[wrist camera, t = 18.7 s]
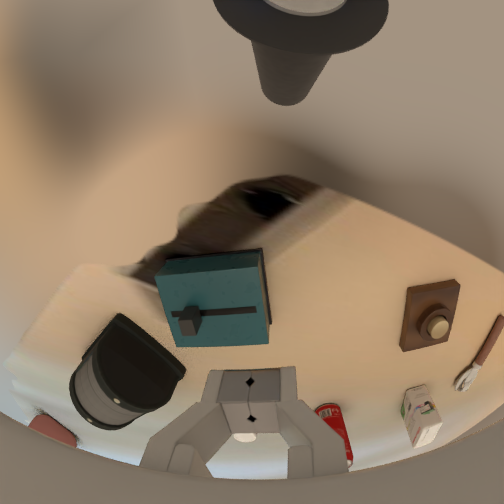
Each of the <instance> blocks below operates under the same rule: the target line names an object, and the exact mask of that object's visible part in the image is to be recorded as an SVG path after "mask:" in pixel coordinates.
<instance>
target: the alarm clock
mask: <svg viewBox="0 0 504 504" xmlns="http://www.w3.org/2000/svg"><path fill="white" fill-rule="evenodd" d="M28 427H30V428H32V429H34V430H36V431H38V432H40V433H42V434H44V435H47V436H49V437H51V438H53V439H56V440H58V441H61V442H63V443H66V444H68V445H71V446H73V447H77V443H76V439H75V437H74V436H73V434H72V433H71V432H70V431H69V430H67V429H66V428H65V427H63V426H62V425H61V424H59V423H58V422H57V421H55V420H54V419H53V418H51V417H49V416H48V415H43V414H41V415H37V416H36V417H35V418H34V419H33V420H32V421H31V423H30V424H29V426H28Z"/></svg>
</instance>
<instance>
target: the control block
mask: <svg viewBox="0 0 504 504" xmlns="http://www.w3.org/2000/svg"><path fill="white" fill-rule="evenodd" d="M459 290H460V284H459V283H458V282H457V281H456V280H449V281H444V282H438V283H433V284H427V285H421V286H416V287H409V288H408V290H407V298H406V306H405V314H404V320H403V327H402V333H401V338H400V344H399V346H400V347H401V349H402V351H403V352H406V351H411V350H415V349H419V348H424V347H428V346H432V345H435V344H439V343H443V342H447V341H448V338H449V334H450V330H451V327H452V323H453V318H454V314H455V310H456V305H457V300H458V295H459ZM436 316H443V317H444V318H445V320H446V321H447V322H448V324H449V327H448V330H447V332H446V333H445V335H443V336H442V337H441V338H438V339H434V338H432V336H431V335H430V333H429V332H428V330H427V326H428V324H429V322H430V321H431V320H432V319H433V318H434V317H436Z"/></svg>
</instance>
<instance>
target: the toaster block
mask: <svg viewBox="0 0 504 504" xmlns="http://www.w3.org/2000/svg"><path fill="white" fill-rule="evenodd" d="M155 280H156V284H157V287H158V291H159V294H160V297H161V301H162V304H163V307H164V310H165V314H166V317H167V320H168V323H169V326H170V329H171V332H172V335H173V338H174V341H175V344H176V347H218V346H241V345H258V344H269V327H270V324H272V319H271V311H270V304H269V296H268V288H267V281H266V273H265V265H264V258H263V250H262V248H258V249H249V250H239V251H230V252H221V253H211V254H202V255H193V256H184V257H174V258H166V264H165V265H164V266H163V267H162V268H161V269H160V271H159V272H158V273H157V274H156V275H155ZM191 306H198V307H199V310H200V314H201V318H202V323H201V326H200V328H199V331H198V333H197V336H182V333H181V330H180V327H179V323H178V319H179V317H180V315H181V313H182V311H183V310H184V308H185V307H191Z"/></svg>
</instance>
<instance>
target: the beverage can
mask: <svg viewBox="0 0 504 504" xmlns="http://www.w3.org/2000/svg"><path fill="white" fill-rule="evenodd" d="M315 413H316V414H317V415H318V416H319V417H320V418H321V419H322V420H323V421H325V422H326V423H327V424H328V425H329V426H330V427H331V428H332V429H333V430H334V431H335V432H336V433H337V434H338V435H340V436H341V437H342V438H343V439H344V444H345V450H346V456H347V463H348V468H349V467H351V466H352V464H353V453H352V450H351V446H350V442H349V438H348V435H347V431H346V427H345V424H344V420H343V417H342V413H341V410H340V407H339V406H337V405H335V404H326V405H323V406H321V407H319V408H318V409H317V410H316V411H315Z"/></svg>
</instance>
